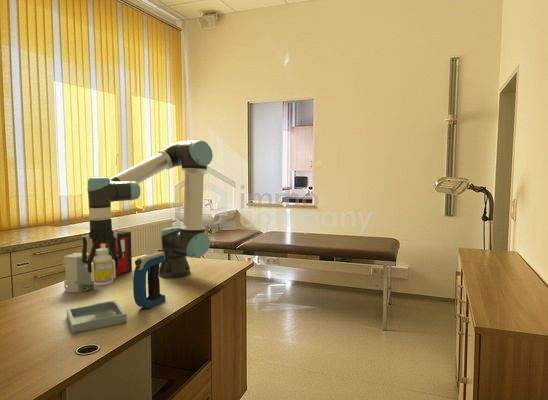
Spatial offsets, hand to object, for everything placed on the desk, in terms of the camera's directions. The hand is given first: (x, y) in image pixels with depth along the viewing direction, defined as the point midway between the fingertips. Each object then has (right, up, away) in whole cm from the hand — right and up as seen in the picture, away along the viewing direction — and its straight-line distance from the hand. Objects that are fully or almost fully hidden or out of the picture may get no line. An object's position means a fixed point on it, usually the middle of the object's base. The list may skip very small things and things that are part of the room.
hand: (103, 278), depth 142 cm
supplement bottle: (0, -2, 0) cm, 2 cm away
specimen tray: (+4, -11, -15) cm, 19 cm away
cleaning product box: (-14, -7, +41) cm, 44 cm away
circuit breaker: (-16, -9, +18) cm, 25 cm away
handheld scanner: (+18, -10, 0) cm, 21 cm away
